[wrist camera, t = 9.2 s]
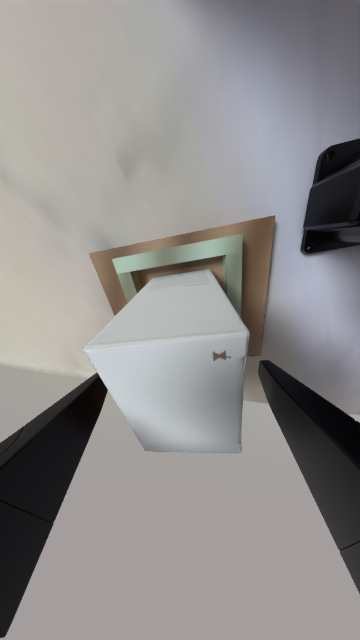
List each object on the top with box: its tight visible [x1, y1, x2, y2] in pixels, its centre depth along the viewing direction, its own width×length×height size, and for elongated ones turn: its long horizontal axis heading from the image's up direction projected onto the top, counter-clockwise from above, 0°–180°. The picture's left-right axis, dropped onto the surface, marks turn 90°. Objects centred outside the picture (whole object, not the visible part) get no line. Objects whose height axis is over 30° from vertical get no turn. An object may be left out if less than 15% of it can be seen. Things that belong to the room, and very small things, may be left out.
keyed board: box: [89, 216, 275, 356], centre depth 15 cm, size 16×14×2 cm
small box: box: [83, 269, 250, 453], centre depth 11 cm, size 8×6×10 cm
